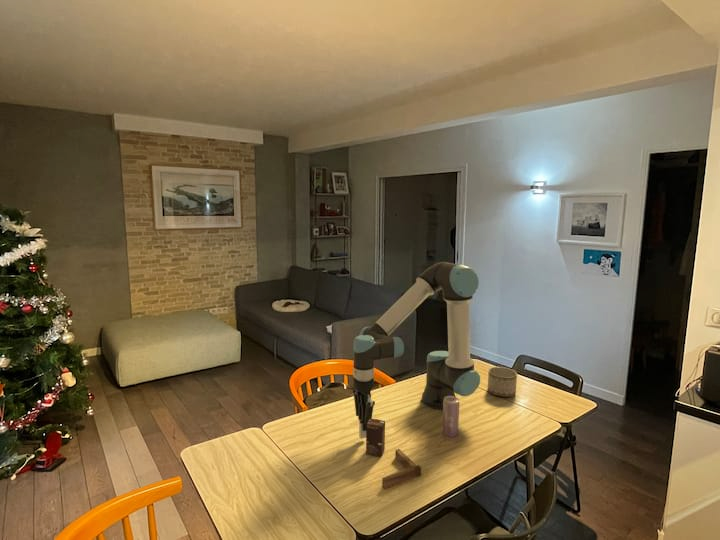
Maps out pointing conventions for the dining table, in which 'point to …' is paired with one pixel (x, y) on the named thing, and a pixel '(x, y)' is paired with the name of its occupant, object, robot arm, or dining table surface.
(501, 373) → the planter
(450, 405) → the beverage can
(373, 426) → the box
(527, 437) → the dining table surface
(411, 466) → the corner fence
